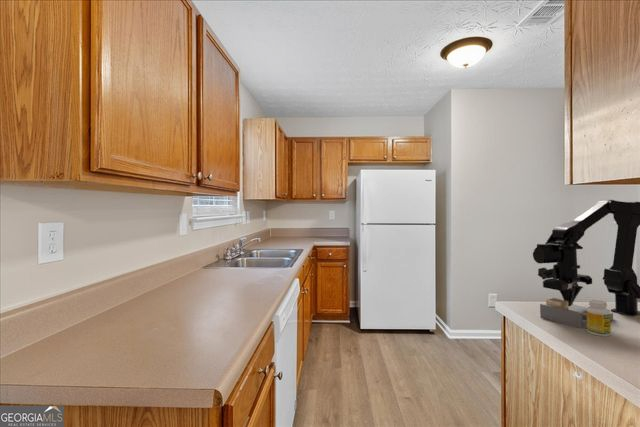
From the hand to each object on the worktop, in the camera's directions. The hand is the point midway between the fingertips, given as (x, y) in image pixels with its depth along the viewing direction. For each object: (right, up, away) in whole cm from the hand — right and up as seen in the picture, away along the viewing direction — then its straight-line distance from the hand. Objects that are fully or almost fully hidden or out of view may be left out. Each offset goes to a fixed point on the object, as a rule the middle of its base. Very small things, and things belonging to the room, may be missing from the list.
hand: (568, 305), depth 111 cm
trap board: (0, -3, -3) cm, 4 cm away
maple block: (-6, -1, -2) cm, 6 cm away
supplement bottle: (-4, -4, -17) cm, 17 cm away
